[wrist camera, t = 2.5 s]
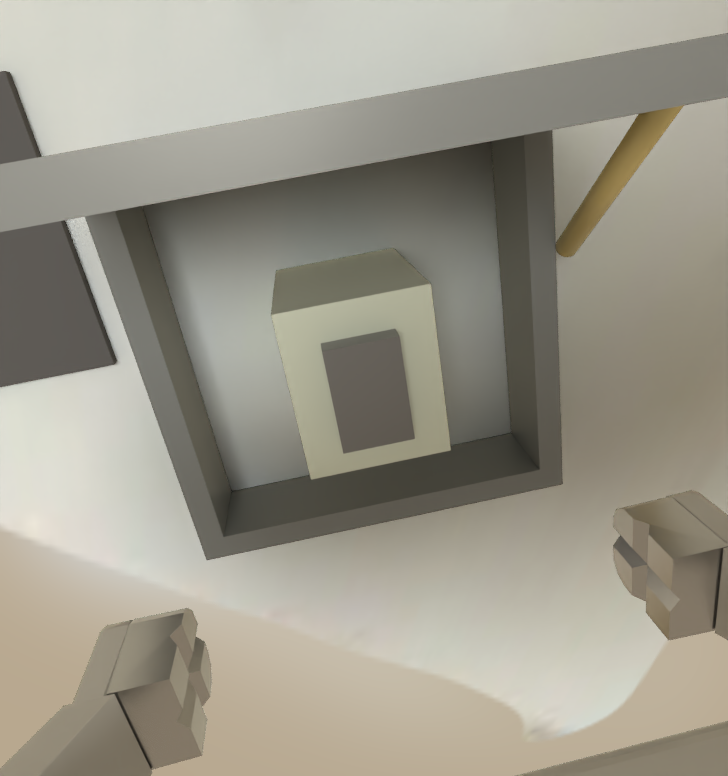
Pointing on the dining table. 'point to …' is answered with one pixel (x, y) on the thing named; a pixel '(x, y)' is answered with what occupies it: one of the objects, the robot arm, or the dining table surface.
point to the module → (361, 361)
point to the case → (348, 149)
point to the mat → (42, 282)
